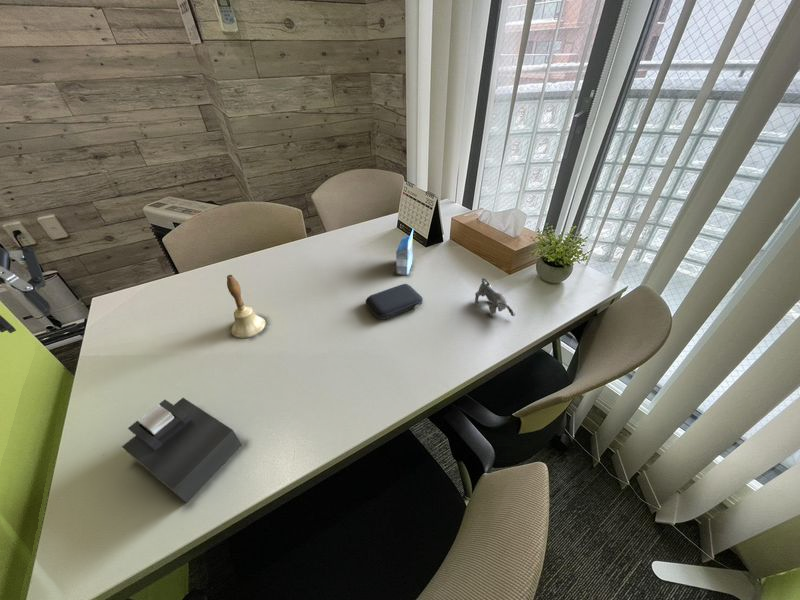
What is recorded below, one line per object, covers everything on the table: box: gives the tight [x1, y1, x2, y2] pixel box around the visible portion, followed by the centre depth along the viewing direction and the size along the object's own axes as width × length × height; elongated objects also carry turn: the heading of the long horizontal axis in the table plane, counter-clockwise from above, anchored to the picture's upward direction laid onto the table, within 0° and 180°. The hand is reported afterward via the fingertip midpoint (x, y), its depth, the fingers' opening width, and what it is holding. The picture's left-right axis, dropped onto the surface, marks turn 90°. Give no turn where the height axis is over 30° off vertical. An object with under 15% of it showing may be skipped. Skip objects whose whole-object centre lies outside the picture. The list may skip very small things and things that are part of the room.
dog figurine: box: [474, 277, 516, 317], centre depth 88 cm, size 12×6×7 cm, turn 27°
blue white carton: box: [395, 229, 414, 276], centre depth 103 cm, size 9×4×12 cm, turn 169°
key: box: [137, 404, 175, 435], centre depth 56 cm, size 4×4×2 cm
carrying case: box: [365, 283, 424, 320], centre depth 90 cm, size 11×3×15 cm
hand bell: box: [226, 274, 266, 339], centre depth 80 cm, size 8×8×16 cm
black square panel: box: [121, 397, 243, 504], centre depth 57 cm, size 15×11×7 cm
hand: (30, 321), depth 48 cm, fingers open, 3 cm apart
